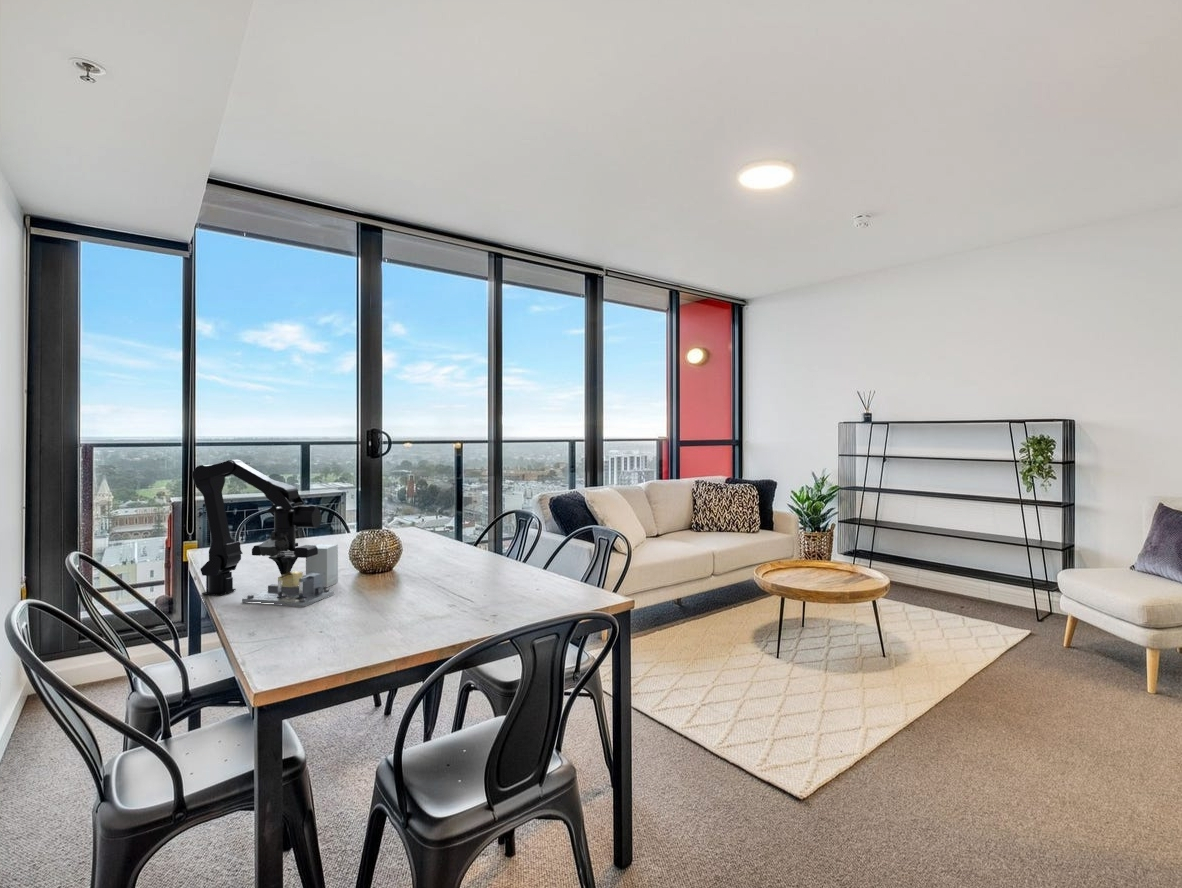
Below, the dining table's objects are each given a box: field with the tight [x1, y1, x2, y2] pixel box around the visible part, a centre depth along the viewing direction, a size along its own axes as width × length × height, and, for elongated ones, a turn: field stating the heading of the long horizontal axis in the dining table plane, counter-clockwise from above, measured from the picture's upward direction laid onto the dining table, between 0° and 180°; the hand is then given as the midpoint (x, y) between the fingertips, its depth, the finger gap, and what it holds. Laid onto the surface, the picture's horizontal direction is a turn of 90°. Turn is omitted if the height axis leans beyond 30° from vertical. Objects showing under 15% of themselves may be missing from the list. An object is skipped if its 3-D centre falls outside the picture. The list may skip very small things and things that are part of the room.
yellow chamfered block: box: [277, 570, 304, 596], centre depth 180 cm, size 4×8×5 cm, turn 169°
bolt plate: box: [241, 573, 335, 608], centre depth 179 cm, size 20×14×7 cm
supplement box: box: [305, 543, 339, 588], centre depth 196 cm, size 7×7×13 cm
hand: (284, 578), depth 183 cm, fingers closed
